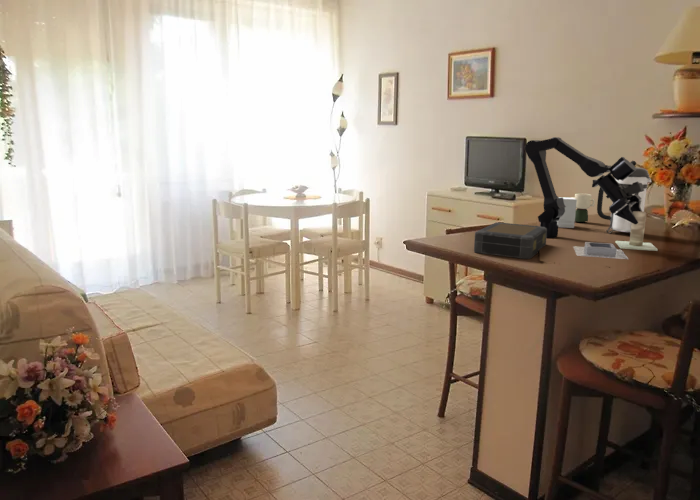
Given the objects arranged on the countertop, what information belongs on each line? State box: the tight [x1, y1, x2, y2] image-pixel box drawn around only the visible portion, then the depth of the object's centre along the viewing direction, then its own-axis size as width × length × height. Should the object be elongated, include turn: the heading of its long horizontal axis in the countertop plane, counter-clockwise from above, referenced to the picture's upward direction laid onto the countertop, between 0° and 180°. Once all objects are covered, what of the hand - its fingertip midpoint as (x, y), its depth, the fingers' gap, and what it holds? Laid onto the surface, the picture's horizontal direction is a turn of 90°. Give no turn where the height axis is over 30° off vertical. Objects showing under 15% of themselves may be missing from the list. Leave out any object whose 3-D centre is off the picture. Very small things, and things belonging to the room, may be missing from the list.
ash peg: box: [628, 211, 647, 246], centre depth 209 cm, size 4×4×12 cm
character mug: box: [570, 192, 596, 223], centre depth 267 cm, size 11×7×13 cm, turn 47°
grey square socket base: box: [572, 241, 629, 260], centre depth 199 cm, size 16×16×4 cm
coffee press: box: [596, 160, 652, 235], centre depth 239 cm, size 17×16×30 cm
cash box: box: [473, 221, 547, 260], centre depth 207 cm, size 25×20×8 cm
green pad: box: [615, 240, 658, 252], centre depth 211 cm, size 12×12×2 cm
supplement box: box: [557, 196, 577, 229], centre depth 255 cm, size 7×7×13 cm
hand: (640, 222), depth 208 cm, fingers open, 9 cm apart
